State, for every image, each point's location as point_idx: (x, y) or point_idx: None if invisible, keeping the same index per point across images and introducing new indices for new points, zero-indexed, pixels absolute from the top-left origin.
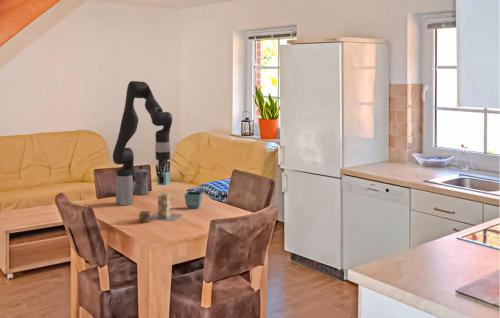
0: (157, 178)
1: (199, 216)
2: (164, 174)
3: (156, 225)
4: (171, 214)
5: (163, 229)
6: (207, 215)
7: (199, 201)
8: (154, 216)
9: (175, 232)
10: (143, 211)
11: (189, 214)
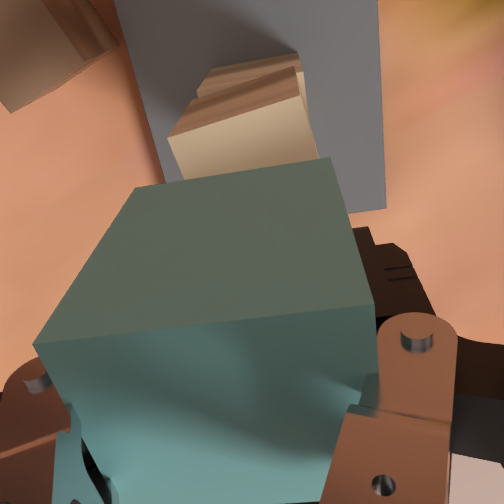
0: (94, 265)
1: (427, 292)
2: (127, 496)
3: (77, 150)
4: (357, 119)
5: (35, 244)
6: (468, 323)
7: None
8: (230, 10)
9: (35, 329)
10: (29, 3)
11: (467, 207)
